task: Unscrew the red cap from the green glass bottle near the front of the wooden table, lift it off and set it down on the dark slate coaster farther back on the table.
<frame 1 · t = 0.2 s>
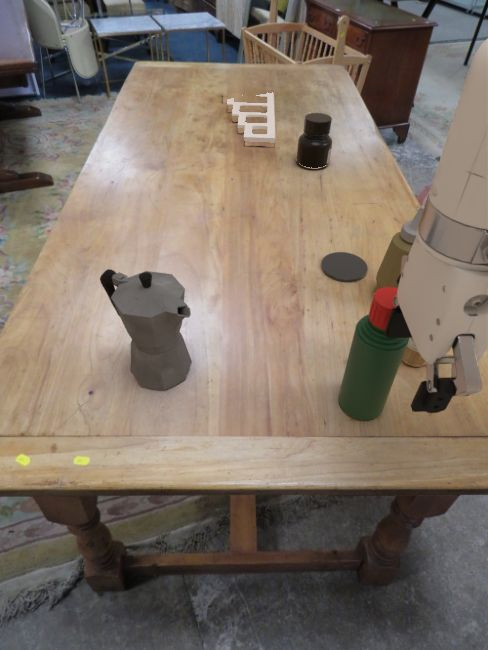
hand: (411, 369, 45), 17 cm above the table, tool pointing down, fingers open, 9 cm apart
coaster: (343, 267, 85), on the table
coffeepot: (156, 365, 67), on the table
sprinkles bottle: (412, 358, 69), on the table
bottle: (360, 401, 63), on the table
squeeze bottle: (393, 296, 80), on the table
holder: (246, 118, 142), on the table
ink bottle: (312, 164, 119), on the table
cap: (392, 300, 50), point 19 cm above the table, screwed on, not yet turned
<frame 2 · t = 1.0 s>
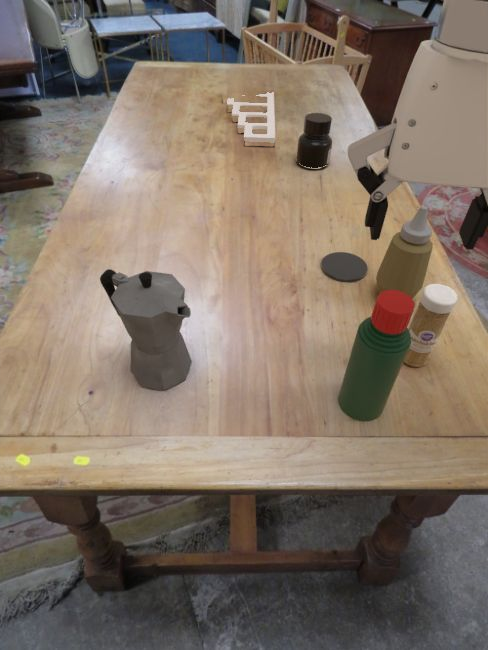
hand: (419, 236, 43), 28 cm above the table, tool pointing down, fingers open, 8 cm apart
nothing on the table moved.
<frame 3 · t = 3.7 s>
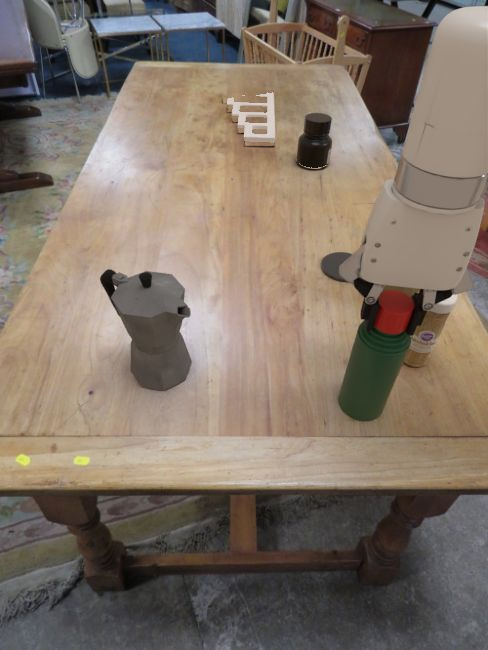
hand: (388, 323, 52), 16 cm above the table, tool pointing down, fingers closed on cap, 4 cm apart
cap: (395, 303, 49), point 19 cm above the table, screwed on, not yet turned, touching gripper
everything else where it was.
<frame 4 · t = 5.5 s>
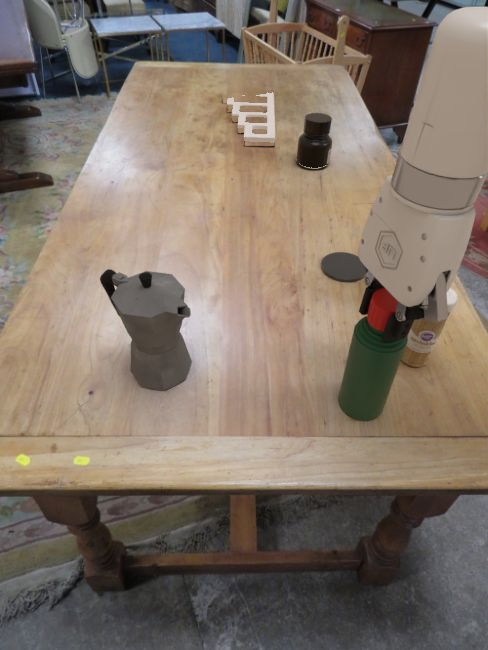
hand: (382, 323, 52), 16 cm above the table, tool pointing down, fingers closed on cap, 4 cm apart
cap: (390, 301, 49), point 19 cm above the table, turned 119° so far, risen 0.1 cm, still on its thread, touching gripper
everything else where it was.
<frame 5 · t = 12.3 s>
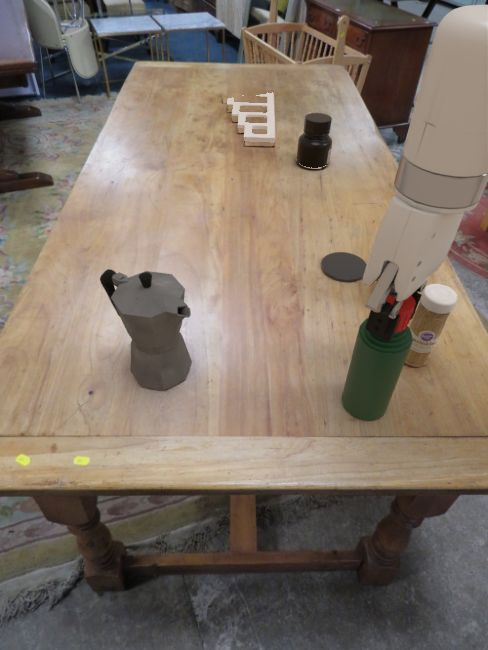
hand: (389, 323, 51), 16 cm above the table, tool pointing down, fingers closed on cap, 4 cm apart
cap: (395, 301, 49), point 19 cm above the table, turned 174° so far, risen 0.2 cm, still on its thread, touching gripper
everything else where it was.
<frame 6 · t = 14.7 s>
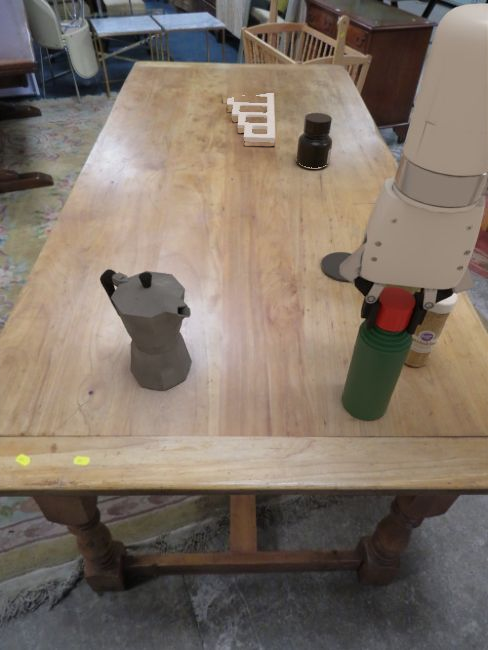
hand: (388, 322, 51), 16 cm above the table, tool pointing down, fingers closed on cap, 4 cm apart
cap: (396, 300, 49), point 19 cm above the table, turned 240° so far, risen 0.2 cm, still on its thread, touching gripper
everything else where it was.
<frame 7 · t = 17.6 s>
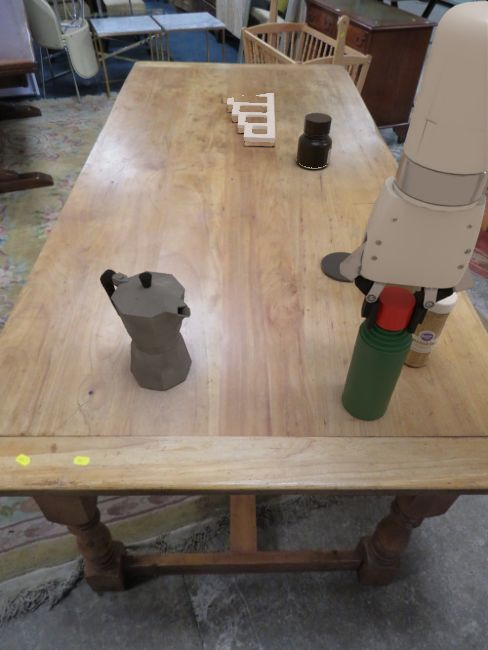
hand: (389, 321, 51), 16 cm above the table, tool pointing down, fingers closed on cap, 4 cm apart
cap: (396, 300, 49), point 20 cm above the table, turned 360° so far, risen 0.4 cm, still on its thread, touching gripper
everything else where it was.
when the fingers open (2 cm above the table, at t = 28.1 s): cap drops 2 cm, resting on coaster.
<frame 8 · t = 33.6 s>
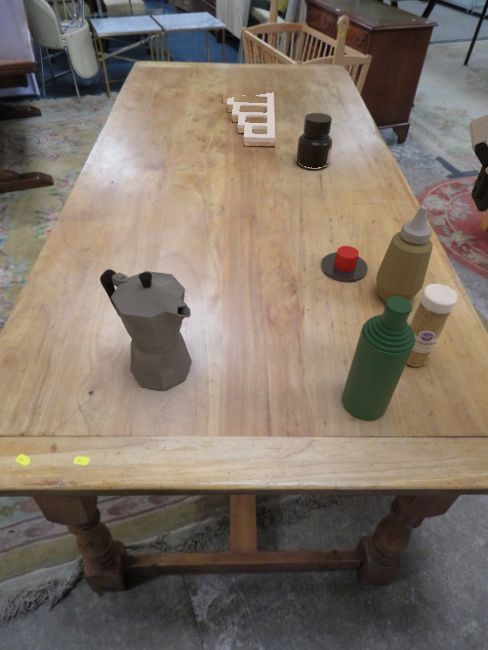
cap: (347, 253, 83), point 3 cm above the table, off its thread, touching coaster
everything else where it was.
at the end: cap came off its thread; cap 0.1 cm off-centre on the coaster, point 3.5 cm above the coaster's base; the gripper is holding nothing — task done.
